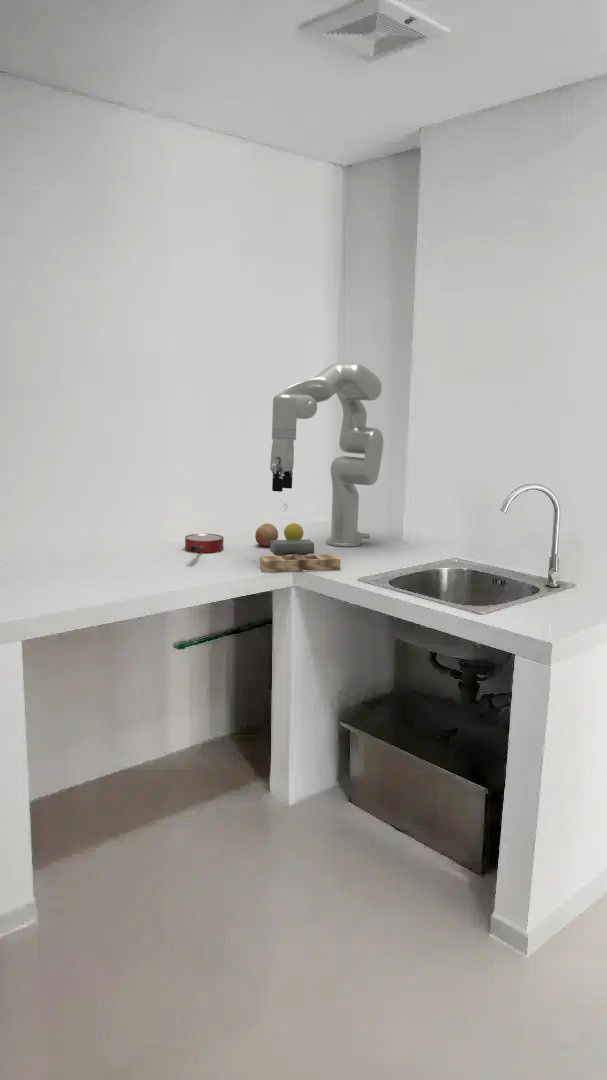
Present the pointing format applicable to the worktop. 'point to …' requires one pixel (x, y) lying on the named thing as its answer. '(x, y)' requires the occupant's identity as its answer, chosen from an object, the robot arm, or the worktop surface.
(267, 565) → the light brown long block
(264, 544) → the fruit
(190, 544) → the frying pan
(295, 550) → the brushed steel slab
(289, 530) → the light bulb
